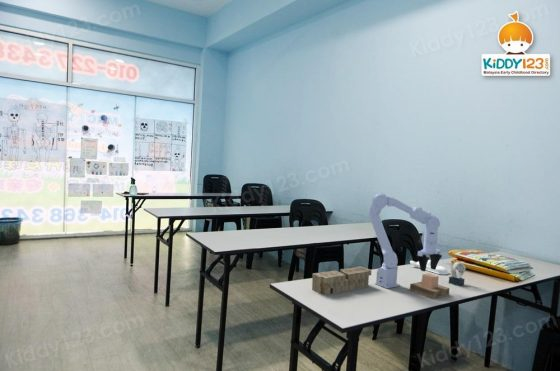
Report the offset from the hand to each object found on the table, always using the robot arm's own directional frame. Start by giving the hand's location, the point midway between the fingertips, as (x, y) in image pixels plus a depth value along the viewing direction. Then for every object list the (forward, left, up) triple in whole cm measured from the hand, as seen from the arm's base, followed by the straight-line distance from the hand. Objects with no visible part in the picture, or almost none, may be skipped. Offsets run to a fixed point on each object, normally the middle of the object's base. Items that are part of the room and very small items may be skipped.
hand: (428, 269), depth 179 cm
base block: (-2, -3, -9) cm, 10 cm away
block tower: (-36, +19, -10) cm, 42 cm away
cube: (-3, -3, -6) cm, 8 cm away
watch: (+23, -1, -10) cm, 24 cm away
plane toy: (+33, +20, -10) cm, 40 cm away
